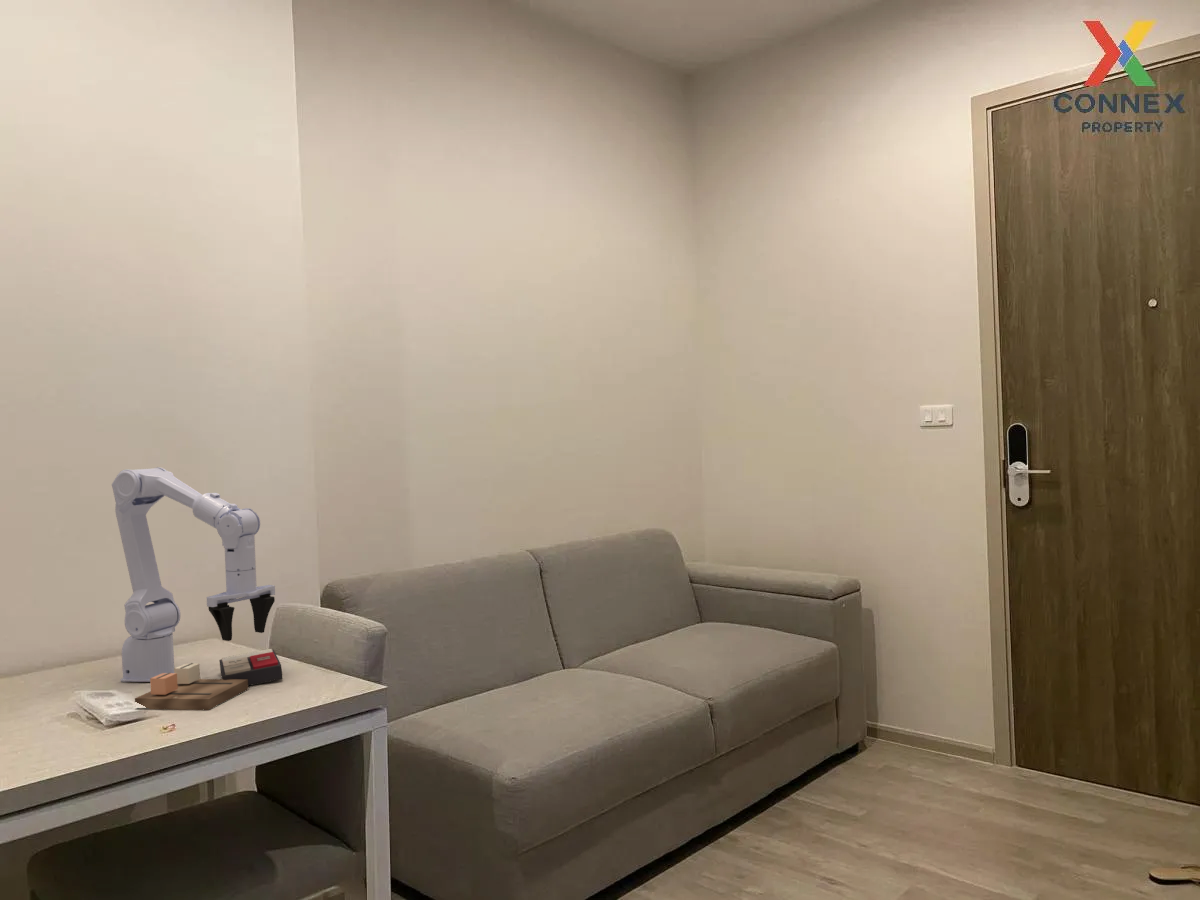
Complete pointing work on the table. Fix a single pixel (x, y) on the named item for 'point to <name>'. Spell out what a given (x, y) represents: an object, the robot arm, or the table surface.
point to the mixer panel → (195, 695)
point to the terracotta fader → (164, 683)
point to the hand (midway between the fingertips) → (243, 636)
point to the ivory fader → (187, 673)
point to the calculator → (252, 667)
